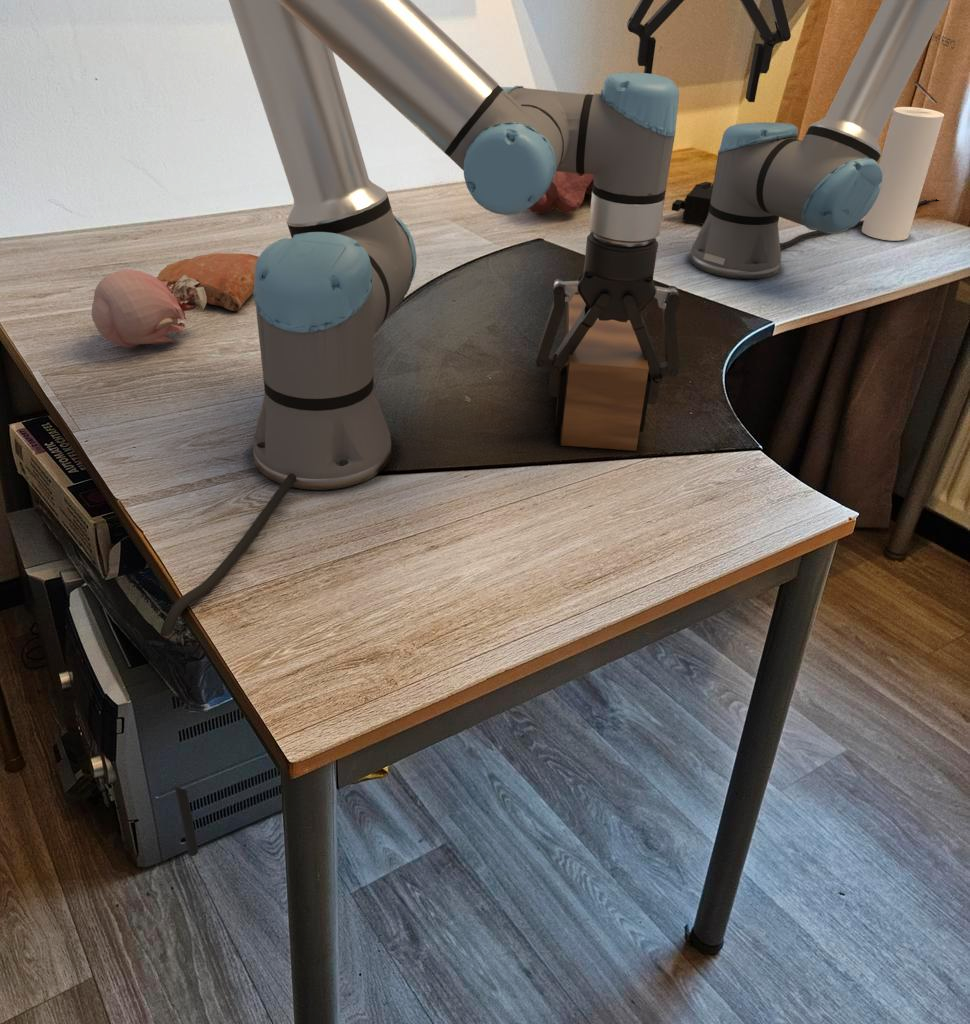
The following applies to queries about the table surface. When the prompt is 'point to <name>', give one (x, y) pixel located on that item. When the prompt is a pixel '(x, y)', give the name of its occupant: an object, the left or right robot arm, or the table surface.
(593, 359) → the box
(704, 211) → the toy
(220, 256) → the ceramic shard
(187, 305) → the shallot
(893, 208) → the white tall cylinder
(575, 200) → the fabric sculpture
